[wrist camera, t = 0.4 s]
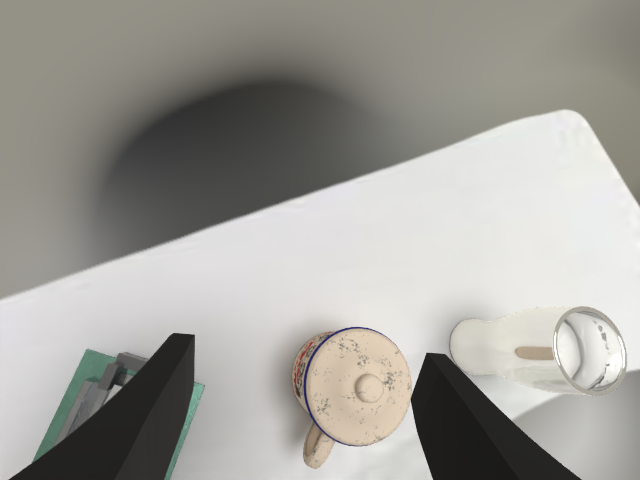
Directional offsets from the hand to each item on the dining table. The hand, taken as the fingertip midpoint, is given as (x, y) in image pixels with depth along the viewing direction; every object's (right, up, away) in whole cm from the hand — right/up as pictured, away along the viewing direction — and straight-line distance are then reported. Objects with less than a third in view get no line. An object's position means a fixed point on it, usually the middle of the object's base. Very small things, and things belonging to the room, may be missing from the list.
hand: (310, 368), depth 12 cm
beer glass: (+18, -8, +31) cm, 37 cm away
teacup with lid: (+1, -11, +27) cm, 29 cm away
